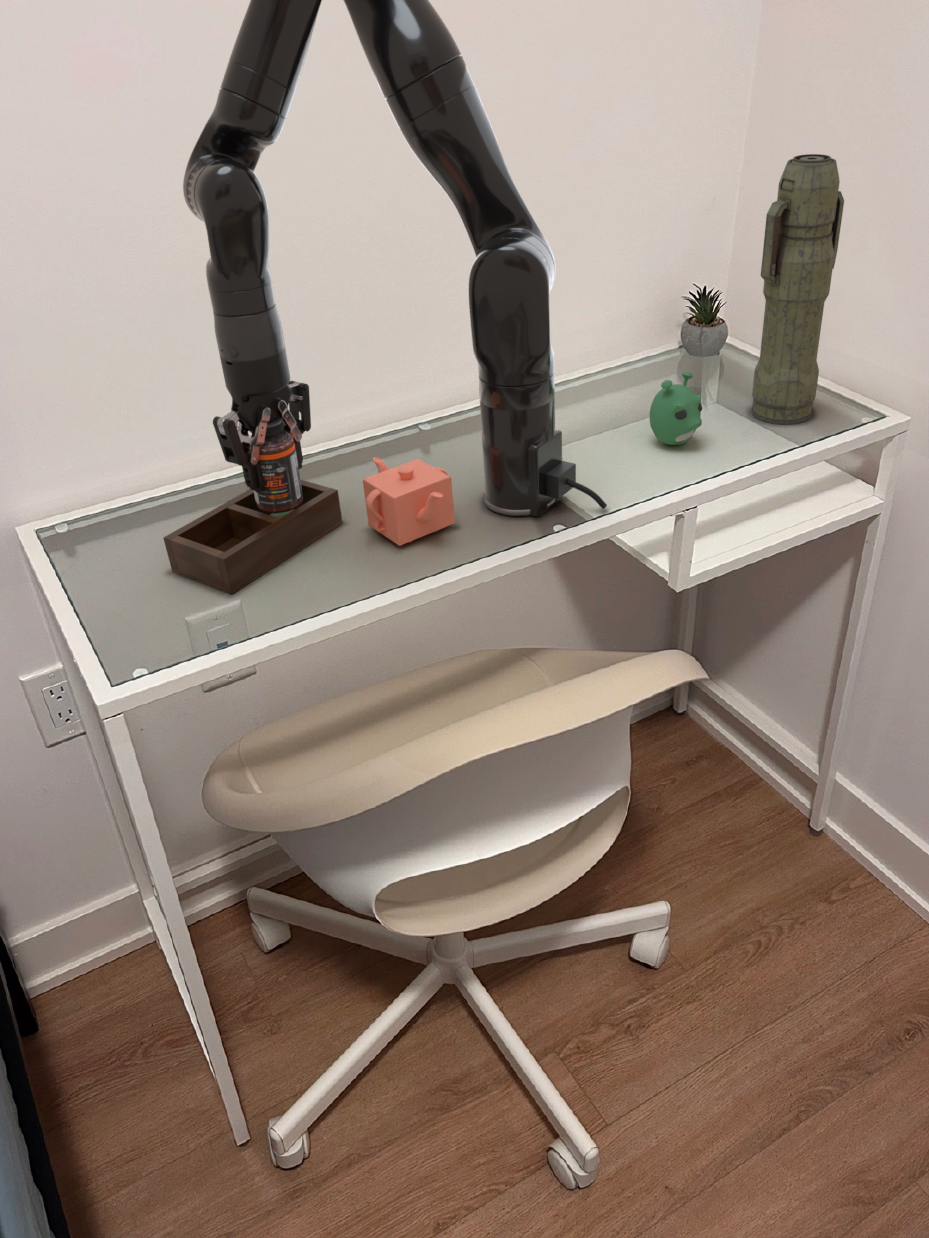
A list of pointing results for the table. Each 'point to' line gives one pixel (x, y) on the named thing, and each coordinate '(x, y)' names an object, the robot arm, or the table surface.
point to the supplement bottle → (278, 471)
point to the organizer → (249, 538)
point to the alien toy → (675, 412)
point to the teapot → (408, 500)
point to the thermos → (796, 287)
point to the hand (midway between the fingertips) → (276, 478)
